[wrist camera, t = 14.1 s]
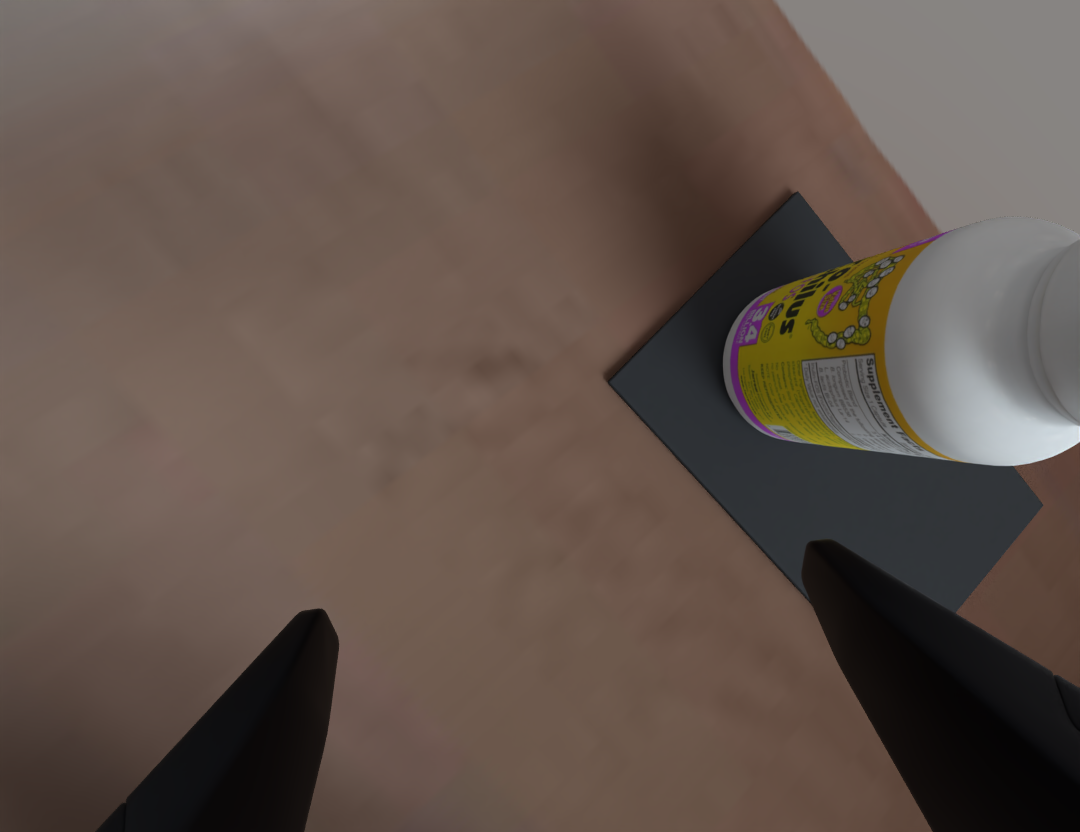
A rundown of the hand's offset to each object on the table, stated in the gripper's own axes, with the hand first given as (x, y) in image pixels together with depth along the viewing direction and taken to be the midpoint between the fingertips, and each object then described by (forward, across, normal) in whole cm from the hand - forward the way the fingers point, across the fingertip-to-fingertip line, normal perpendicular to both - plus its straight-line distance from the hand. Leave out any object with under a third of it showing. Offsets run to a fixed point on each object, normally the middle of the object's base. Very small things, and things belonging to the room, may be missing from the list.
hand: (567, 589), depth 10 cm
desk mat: (+12, -13, +7) cm, 20 cm away
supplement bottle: (+14, -11, +3) cm, 18 cm away
